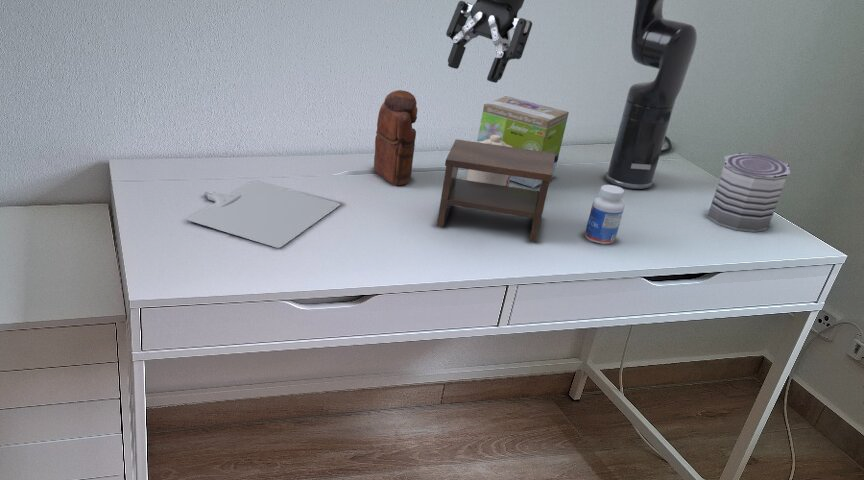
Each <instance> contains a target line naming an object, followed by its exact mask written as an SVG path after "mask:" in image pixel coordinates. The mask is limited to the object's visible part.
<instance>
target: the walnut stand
mask: <svg viewBox="0 0 864 480" xmlns="http://www.w3.org/2000/svg"><path fill="white" fill-rule="evenodd" d="M554 159H555V153H550V152H542V151H535V150H528V149H521V148H514V147H507V146H500V145H493V144H486V143H479V142H477V141H471V140H463V139H457V138H456V139H455V140H454V142H453V144H452V146H451V148H450V150H449V152H448V154H447V157H446V159H445V163H444V166H445V172H444V177H443V184H442V190H441V196H440V202H439V209H438V215H437V221H436V227H439V228H444V226H445V223H446V221H447V219H448V216H449V214H450V212H451V208H452V206H453V207H459V208H464V209H465V208H466V209H472V210H479V211H483V212H484V211H485V212H491V213H498V214H503V215H509V216H516V217H524V218H528V219H532V224H531V228H530V235H529V240H528V241H529V242H530V243H537V239H538V235H539V230H540V226H541V221H542V218H543V217H542V216H543V213H544V209H545V203H546V199H547V194H548V190H549V187H550V182H552V178H553V177H552V174H553V166H554ZM459 169H464V170H468V169H470V170H477V171H483V172H490V173H497V174H503V175H510V176H517V177H524V178H530V179H537V180H541V184H539V190H533V189H527V188H520V187H516V186H515V187H514V186H509V187H508V186H502V185H495V184H489V183H482V182H475V181H469V180H466V179H462V178H457V177H458V171H459Z"/></svg>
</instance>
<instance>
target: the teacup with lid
mask: <svg viewBox="0 0 864 480" xmlns="http://www.w3.org/2000/svg"><path fill="white" fill-rule="evenodd" d="M479 143H486V144H493V145H500V146H507V147H512V146H510V145H507V144H506V143H505V142H503V141H501V137H500V136H499V135H492V136H491V137H490V139H487V140H484V141H480V142H479ZM510 177H511V176H510V175H503V174H497V173H490V172H483V171H477V170H470V169H467V172H466V178H465V180H469V181H475V182H482V183H489V184H495V185H502V186H508V187H510V181H511V180H510Z"/></svg>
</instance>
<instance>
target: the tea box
mask: <svg viewBox="0 0 864 480" xmlns="http://www.w3.org/2000/svg"><path fill="white" fill-rule="evenodd" d="M569 113H570V112H569V111H567V110H562V109H558V108H555V107H550V106H547V105H543V104H538V103H535V102H530V101H528V100H522V99H519V98H515V97H511V96H507V95H505V96H503V97H500V98H498V99H495V100H492V101H490V102H487V103H484V104H483V109H482V113H481V118H480V123H479V130H478V133H477V140H476V142H480V141H484V140H487V139H490V137H491V136H492V135H499V136H500V137H501V141H503V142H505V143H506V144H507V145H510V146H512V147H514V148H521V149H528V150H535V151H542V152H550V153H555V159H554V166H553V174H552V178H554V176H555V172H556V168H557V164H558V160H559V156H560V151H561V148H562V143H563V139H564V134H565V131H566V126H567V122H568V117H569ZM510 181H512V182H515V183H517V184H521V185H524V186H526V187H529V188H532V189H534V188H536V187H538V186H540V185H541V180H537V179H530V178H524V177H517V176H511V177H510Z"/></svg>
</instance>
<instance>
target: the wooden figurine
mask: <svg viewBox="0 0 864 480" xmlns="http://www.w3.org/2000/svg"><path fill="white" fill-rule="evenodd" d="M417 119H418V107H417V100H416V96H415V95H414V94H412V93H411V92H409V91H407V90H402V89H399V90H394V91H391V92H389V94H387V95H386V96H385V98H384V101H383V103H382V104H381V106H380V108H379V112H378V116H377V123H376V132H375V139H374V157H373V169H374V173H376V174H377V175H379V176H380V177H382V178H383V179H384V180H386V181H387V182H388V183H390V184H391V185H393V186H404V185H406V184H408V183H409V182H410V181H411V177H412V172H413V171H412V170H413V162H414V154H415V147H416V146H415V145H416V144H415V143H416V137H417V131H416V129H415V128H413V124H415V123H416V122H417Z"/></svg>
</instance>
